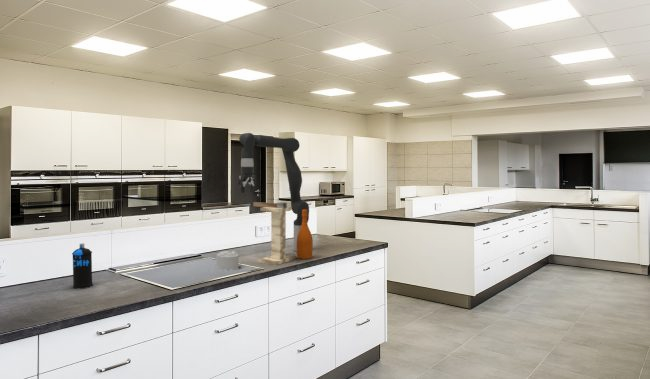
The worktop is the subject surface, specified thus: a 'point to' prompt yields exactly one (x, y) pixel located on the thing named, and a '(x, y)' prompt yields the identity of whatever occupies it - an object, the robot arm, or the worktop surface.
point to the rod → (270, 204)
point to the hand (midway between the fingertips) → (247, 192)
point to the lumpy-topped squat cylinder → (227, 260)
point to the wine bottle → (304, 239)
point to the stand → (277, 236)
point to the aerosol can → (82, 267)
